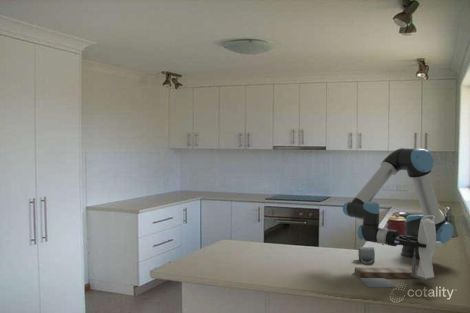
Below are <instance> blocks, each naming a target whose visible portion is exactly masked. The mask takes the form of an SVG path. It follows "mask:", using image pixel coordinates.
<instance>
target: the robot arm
mask: <svg viewBox="0 0 470 313" xmlns="http://www.w3.org/2000/svg"><path fill="white" fill-rule="evenodd" d="M434 163H435V161H434V156H433V154H432V153H431V152H430V151H429V150H427V149H423V148H417V147H416V148H404V147H400V148H398V149H395V150H394V151H391V153H390V154H388V155H387V156H385V158H384V159H383V160H382V162H381V163H380V167H378V169H377V171H376V172H375V173H374V174H373V175H372V177H371V178H370V179H368V181H367V182H366V184H365V185H364V186H363V187H362V188H361V190H360V191H359V192H358V193H357V194H356V196H354V198H353V199H352V200H351V201H346V202H345V203H344V204H343V205H342V212H343V213H344V215H345V216H347V217H350V218H356V219H359V220H362V224H360V225H359V226H358V228H357V232H356V233H357V234H356V235H357V237H358V239H360V240H362V241H365V242H370V243H377V244H381V245H382V246H385V245H386V246H391V247H397V246H402V248H401V252H400V253H401V255H402V256H405V257H409V258H412V259H413V258H414V248H415V252H416V254H415V258H416V259H420V256H419V250H418V249H419V248H423V249H428V250H433V251H434V252H435V250H436V248H437V249H441V248H442V244H446V243H449V242H450V240H451V239H452V237H453V235H454V225H453V224H452V223H450V222H448V221H447V220H446V217H445V215H444V214H443V213H441V210H440V207H439V203H438V200H437V196H436V193H435V189H434V186H433V183H432V178H431V176H430V174H431V173H432V169H433V168H434ZM400 171H406V172H407V177H409V178H410V179H412V181H413V186H414V188H415V192H416V195H417V199H418V202H419V205H420V208H421V212H422V214H409V215H407V216H406V218H405V219H406V230H405V235H402V236H400V235H399V232H398V231H395V230H389V229H386V228H382V227H380V226H379V223H380V222H379V221H380V203H378V202H376V201H373V199H374V198H375V197H376V196H377V194H378V193H379V192H380V191H381V190H382V189H383V188H384V186H385V185H386V184H387V183H388V181H389V180H390V178H392V176H395V175H396V174H397V173H398V172H400ZM427 215H433V216H435V218H434V220H433V216H427ZM424 216H427V217H424ZM423 217H424V218H423ZM422 218H423V219H422ZM421 219H422V220H424V219H431V221H432V220H433V221H434V222H435V230H436V243H435V244H431V243H425V242H420V243H419V242H418V233H419V226H420V221H421Z"/></svg>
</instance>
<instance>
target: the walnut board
mask: <svg viewBox="0 0 470 313" xmlns="http://www.w3.org/2000/svg"><path fill="white" fill-rule="evenodd" d="M417 270H418V267H416V274H417ZM354 274H355V275H356V276H358V278H385V279H388V278H389V279H391V278H392V279H417V278H416V277H413V276H411V275H412V267H354Z"/></svg>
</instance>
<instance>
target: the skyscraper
mask: <svg viewBox="0 0 470 313" xmlns="http://www.w3.org/2000/svg"><path fill="white" fill-rule="evenodd" d="M427 216H433V215H427ZM427 216H424V217H427ZM424 217H423V218H424ZM423 218H422V219H423ZM434 218H435V216H433V220H434ZM422 219H421V221H420V226H419V233H418V242H419V243H420V242H425V243H431V244H435V243H436V230H435V222H434V221H433V220H432V221H431V219H424V220H422ZM418 250H419V256H420V258H419V261H418V267H417V265H416V264H417V263H416V262H417V258H415V254H416V252H415V248H414V258H413V257H412V267H411V268H412V275H411V276H413V277H416V278H415V279H420V280H422V281H425V280H430V279H435V273H434V267H433V260H432V259H433V256H434V253H435V250H434V251H433V250H428V249H423V248H419V249H418ZM416 268H418V270H417V274H416Z"/></svg>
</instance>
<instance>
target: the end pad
mask: <svg viewBox="0 0 470 313" xmlns="http://www.w3.org/2000/svg"><path fill="white" fill-rule="evenodd" d="M358 278H359V280H360V281H361V282H362V283H363V284H364V285H366V286H367V288H396V286H395V285H394V284H393V283H392V282H391V281H389V280H388V279H387V278H360V277H358Z"/></svg>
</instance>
